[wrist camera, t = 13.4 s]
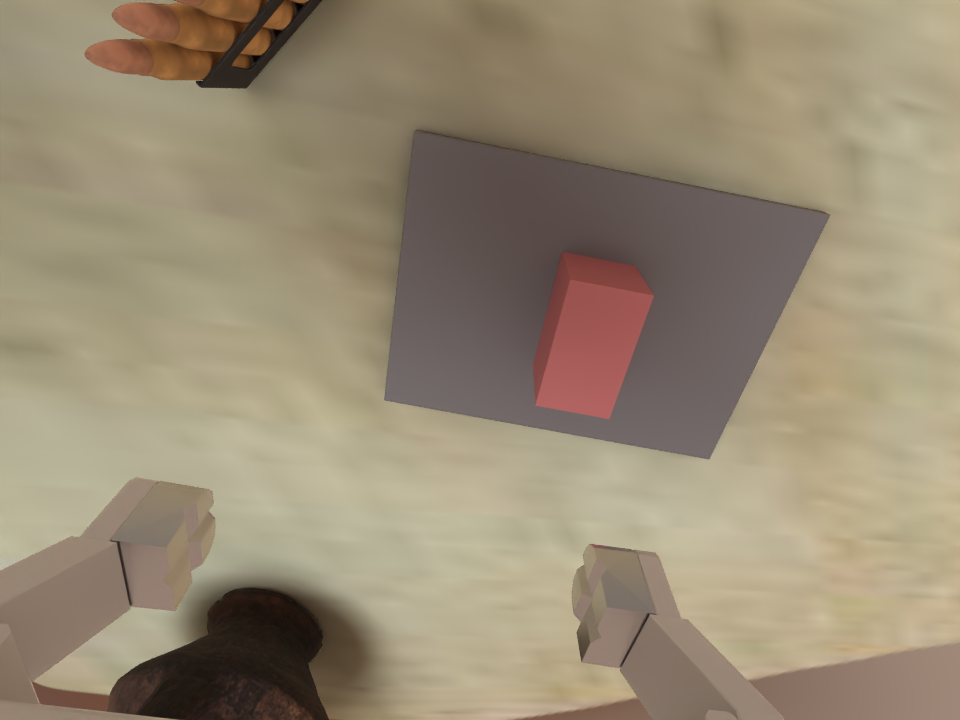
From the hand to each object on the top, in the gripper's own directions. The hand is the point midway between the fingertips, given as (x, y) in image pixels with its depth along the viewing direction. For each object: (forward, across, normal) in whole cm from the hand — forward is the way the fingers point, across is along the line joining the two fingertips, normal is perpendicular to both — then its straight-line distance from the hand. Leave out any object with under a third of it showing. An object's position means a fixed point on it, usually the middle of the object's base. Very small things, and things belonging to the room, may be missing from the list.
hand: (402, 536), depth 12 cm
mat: (+24, -9, +4) cm, 26 cm away
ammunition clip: (+25, +10, -10) cm, 29 cm away
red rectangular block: (+23, -9, +4) cm, 25 cm away
